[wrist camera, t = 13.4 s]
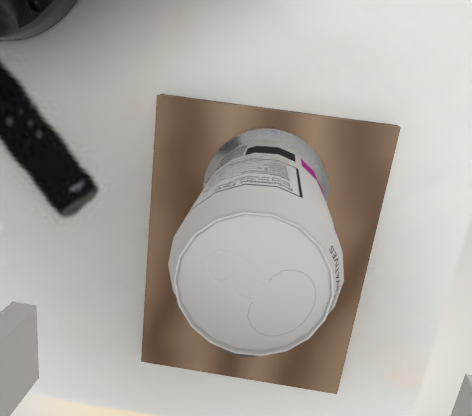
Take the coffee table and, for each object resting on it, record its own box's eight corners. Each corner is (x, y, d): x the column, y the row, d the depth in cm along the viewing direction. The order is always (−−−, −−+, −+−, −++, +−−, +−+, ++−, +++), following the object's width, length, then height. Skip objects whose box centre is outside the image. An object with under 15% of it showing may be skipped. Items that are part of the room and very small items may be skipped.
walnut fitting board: (145, 353, 42) (141, 361, 41) (161, 94, 34) (157, 95, 33) (335, 384, 41) (336, 393, 40) (396, 125, 33) (400, 127, 32)
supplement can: (341, 178, 32) (389, 267, 18) (277, 261, 35) (275, 396, 21) (250, 116, 32) (225, 159, 17) (191, 205, 34) (128, 306, 20)
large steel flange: (199, 235, 36) (197, 240, 35) (211, 119, 33) (209, 121, 32) (315, 253, 36) (316, 258, 35) (338, 136, 33) (340, 138, 32)
